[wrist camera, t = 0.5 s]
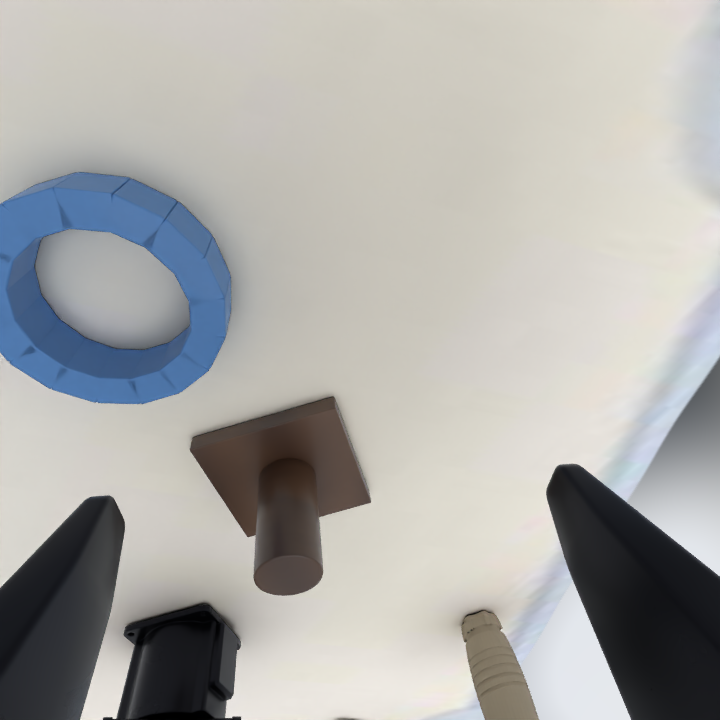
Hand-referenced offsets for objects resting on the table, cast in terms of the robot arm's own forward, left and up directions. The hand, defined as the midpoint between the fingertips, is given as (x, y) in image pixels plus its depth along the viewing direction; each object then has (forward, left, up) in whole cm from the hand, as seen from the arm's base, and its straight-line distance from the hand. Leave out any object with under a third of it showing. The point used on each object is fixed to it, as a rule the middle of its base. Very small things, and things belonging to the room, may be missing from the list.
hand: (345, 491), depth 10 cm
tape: (-8, +1, -13) cm, 16 cm away
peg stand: (-5, -12, -13) cm, 19 cm away
